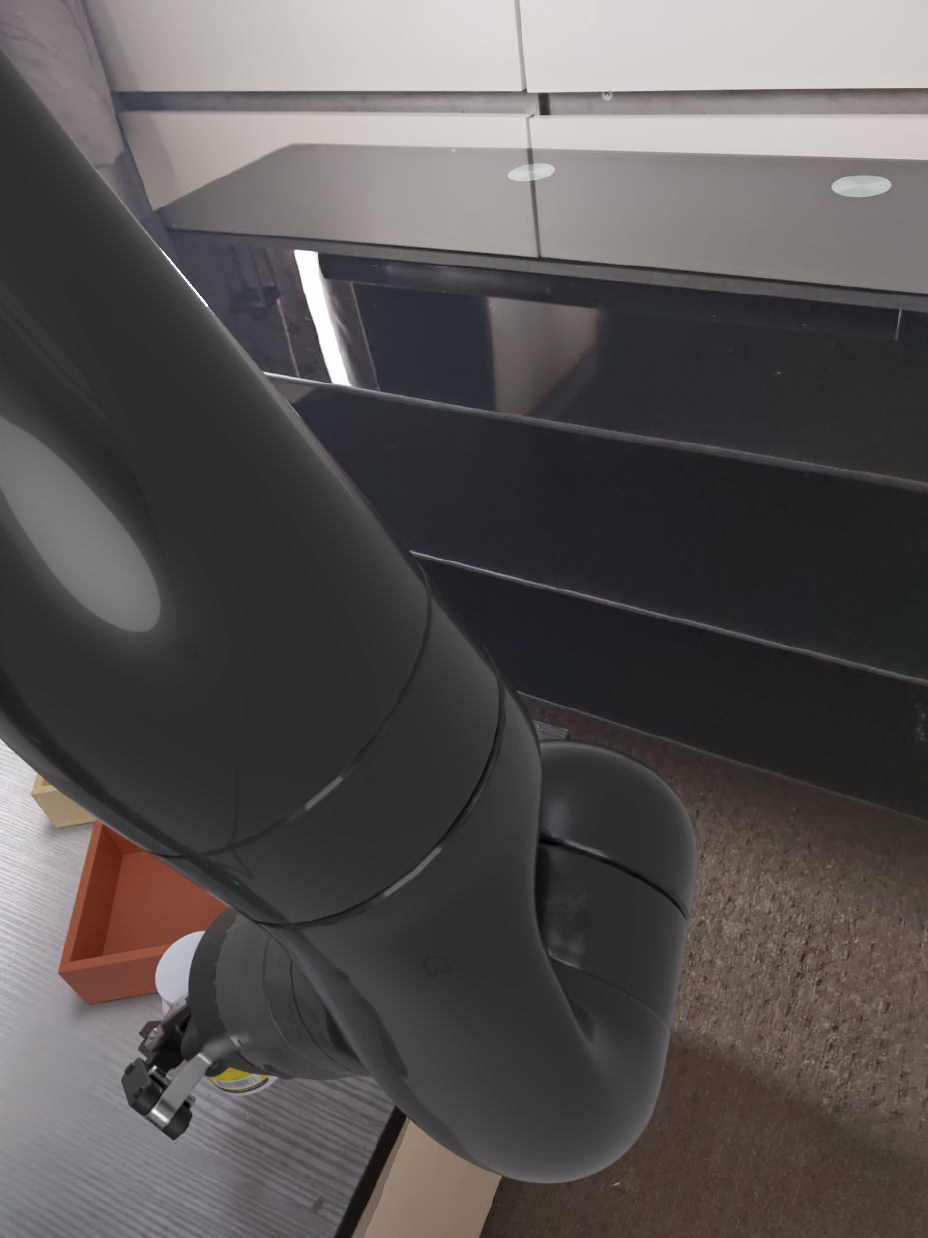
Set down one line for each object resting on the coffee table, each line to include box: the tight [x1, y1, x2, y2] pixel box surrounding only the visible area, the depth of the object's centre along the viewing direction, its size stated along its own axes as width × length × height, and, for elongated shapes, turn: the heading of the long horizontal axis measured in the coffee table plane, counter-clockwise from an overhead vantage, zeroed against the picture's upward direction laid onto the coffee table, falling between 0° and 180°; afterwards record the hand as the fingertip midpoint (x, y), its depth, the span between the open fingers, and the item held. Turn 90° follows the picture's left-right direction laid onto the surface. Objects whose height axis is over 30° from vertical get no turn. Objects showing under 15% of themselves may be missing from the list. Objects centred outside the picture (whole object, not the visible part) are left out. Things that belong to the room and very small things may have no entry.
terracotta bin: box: [57, 819, 229, 1005], centre depth 66 cm, size 12×12×5 cm
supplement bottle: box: [155, 931, 280, 1097], centre depth 50 cm, size 5×5×10 cm
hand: (195, 990), depth 50 cm, fingers closed on supplement bottle, 5 cm apart
